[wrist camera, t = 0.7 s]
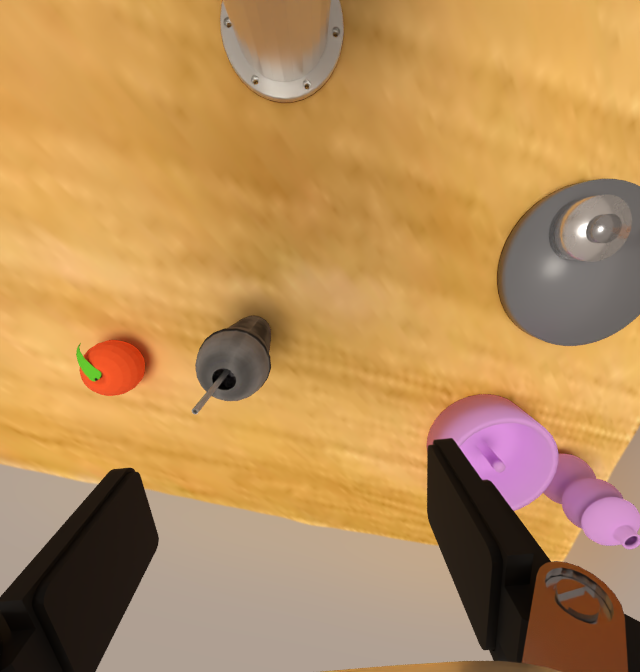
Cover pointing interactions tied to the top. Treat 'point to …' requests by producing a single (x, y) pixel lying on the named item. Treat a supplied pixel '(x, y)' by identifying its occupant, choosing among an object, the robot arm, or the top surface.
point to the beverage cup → (234, 361)
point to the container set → (535, 467)
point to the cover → (590, 228)
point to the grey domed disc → (570, 274)
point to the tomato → (111, 367)
